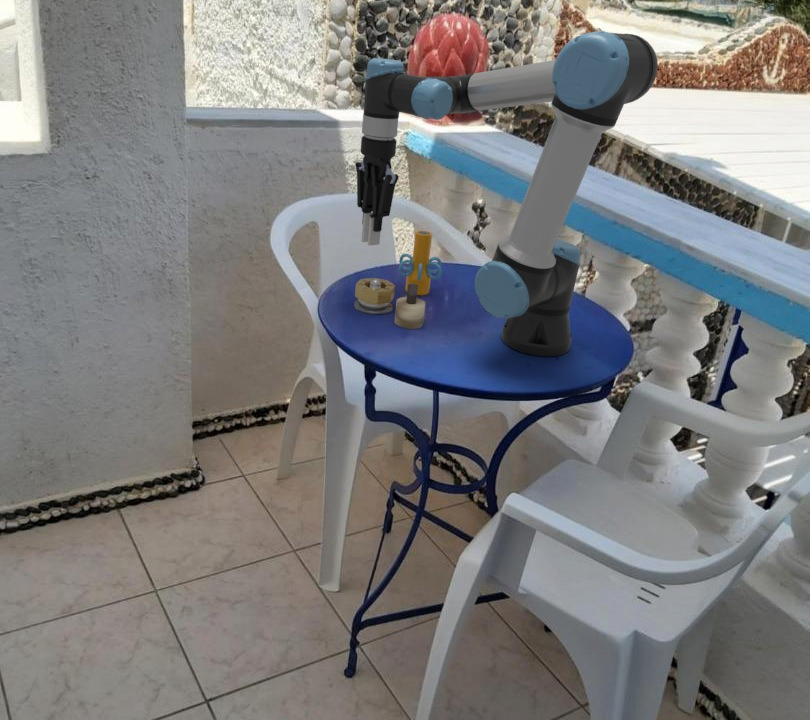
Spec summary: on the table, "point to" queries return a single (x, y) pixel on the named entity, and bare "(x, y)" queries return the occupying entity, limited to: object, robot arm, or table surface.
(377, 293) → the ring
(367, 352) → the table surface
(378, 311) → the hub
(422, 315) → the stand
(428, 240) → the cylinder
